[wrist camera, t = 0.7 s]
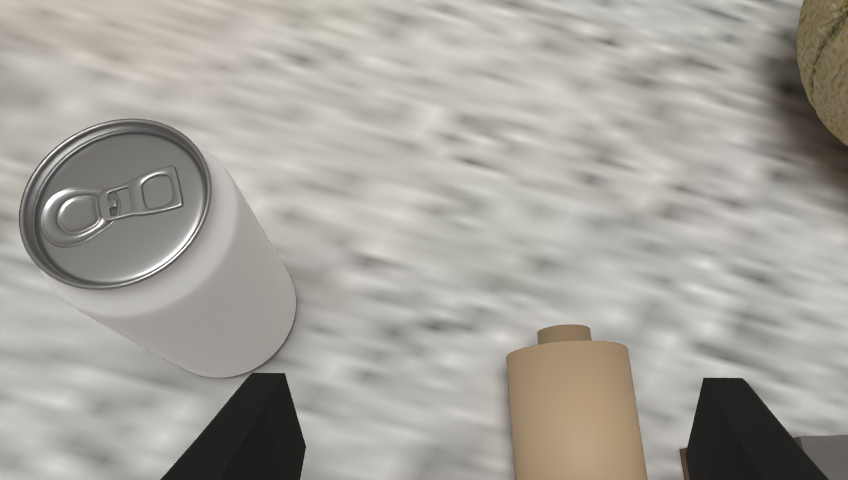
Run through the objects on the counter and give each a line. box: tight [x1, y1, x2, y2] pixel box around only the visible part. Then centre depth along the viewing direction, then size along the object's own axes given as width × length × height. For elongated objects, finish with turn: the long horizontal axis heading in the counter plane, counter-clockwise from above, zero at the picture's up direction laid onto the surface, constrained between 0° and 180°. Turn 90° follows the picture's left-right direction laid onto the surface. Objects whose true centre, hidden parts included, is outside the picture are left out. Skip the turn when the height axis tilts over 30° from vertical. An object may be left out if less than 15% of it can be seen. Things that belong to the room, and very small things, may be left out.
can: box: [19, 119, 296, 378], centre depth 24 cm, size 6×6×12 cm
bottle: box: [506, 325, 648, 480], centre depth 25 cm, size 10×5×5 cm, turn 2°
